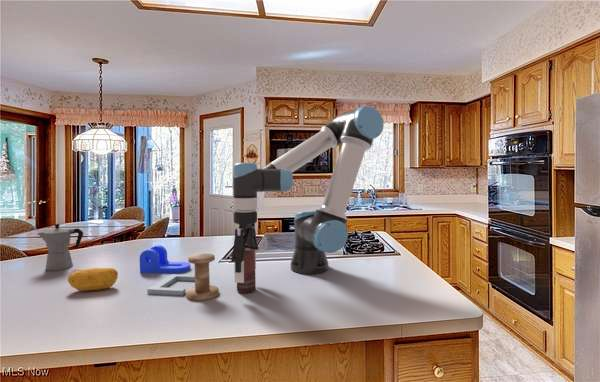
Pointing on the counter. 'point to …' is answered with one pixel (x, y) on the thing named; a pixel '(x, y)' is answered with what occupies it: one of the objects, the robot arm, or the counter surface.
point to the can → (248, 272)
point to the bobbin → (202, 278)
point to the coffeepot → (59, 247)
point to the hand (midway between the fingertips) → (245, 275)
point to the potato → (93, 279)
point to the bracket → (160, 262)
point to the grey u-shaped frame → (161, 286)
